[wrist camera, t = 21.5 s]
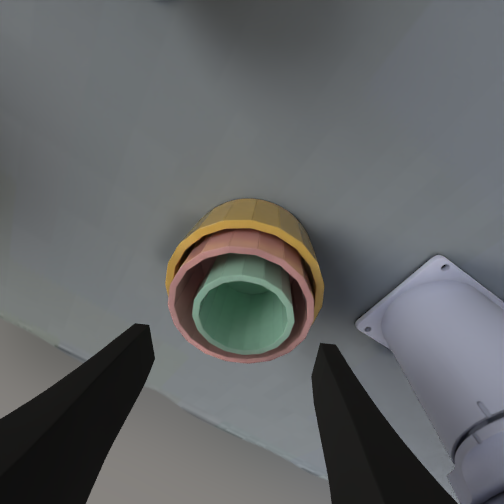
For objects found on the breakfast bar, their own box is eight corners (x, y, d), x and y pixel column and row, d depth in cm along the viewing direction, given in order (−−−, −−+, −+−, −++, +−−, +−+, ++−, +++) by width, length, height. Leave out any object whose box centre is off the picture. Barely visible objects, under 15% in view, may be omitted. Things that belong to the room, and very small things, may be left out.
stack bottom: (338, 245, 17) (359, 281, 13) (264, 323, 20) (263, 370, 16) (229, 170, 15) (213, 183, 11) (170, 270, 19) (142, 307, 15)
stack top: (323, 247, 17) (347, 300, 11) (262, 314, 20) (258, 381, 14) (233, 186, 15) (212, 214, 10) (183, 268, 18) (146, 323, 13)
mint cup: (303, 258, 16) (316, 311, 11) (260, 305, 18) (255, 368, 13) (240, 216, 15) (225, 255, 10) (203, 271, 17) (175, 325, 12)
